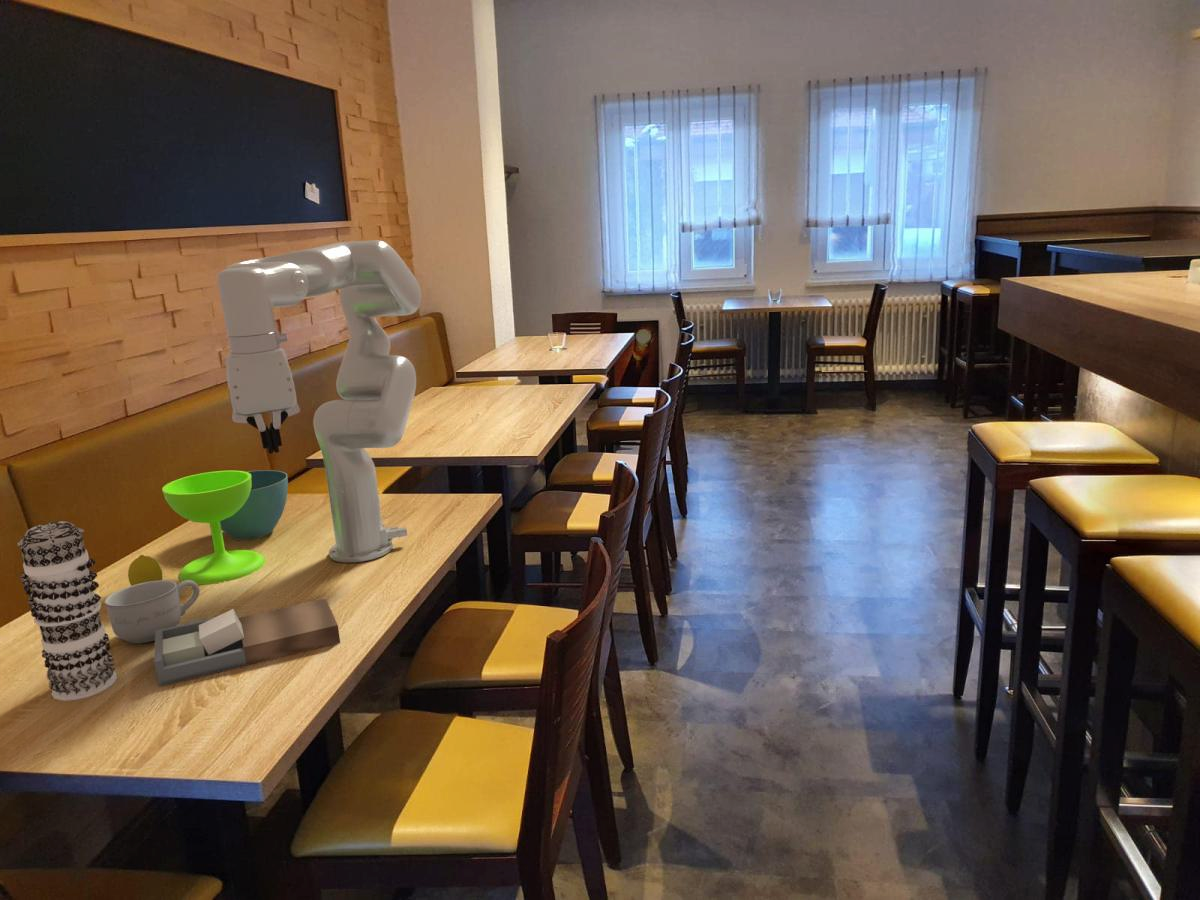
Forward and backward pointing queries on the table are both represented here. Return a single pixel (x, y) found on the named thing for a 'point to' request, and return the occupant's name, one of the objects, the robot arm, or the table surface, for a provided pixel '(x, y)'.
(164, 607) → the teacup
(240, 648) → the box
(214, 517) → the wineglass
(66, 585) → the decorative candle
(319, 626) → the walnut wavy ramp
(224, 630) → the white tile
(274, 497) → the plant pot
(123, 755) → the table surface
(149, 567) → the lemon
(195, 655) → the sage tile
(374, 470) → the robot arm
